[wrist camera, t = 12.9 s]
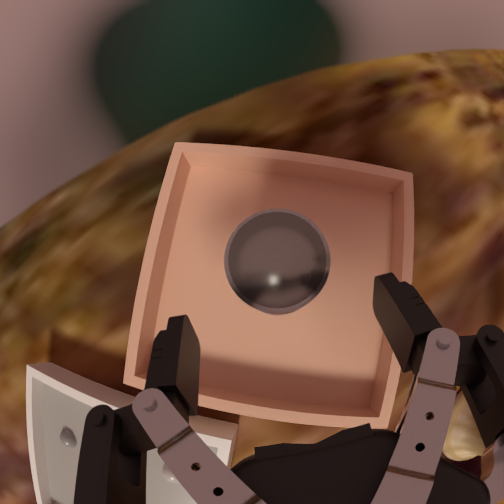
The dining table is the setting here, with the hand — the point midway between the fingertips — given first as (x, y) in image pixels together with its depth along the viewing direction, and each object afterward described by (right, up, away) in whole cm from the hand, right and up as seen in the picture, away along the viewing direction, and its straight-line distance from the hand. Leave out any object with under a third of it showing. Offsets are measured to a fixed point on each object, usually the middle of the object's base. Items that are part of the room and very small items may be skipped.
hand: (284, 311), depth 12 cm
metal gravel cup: (+1, 0, +9) cm, 9 cm away
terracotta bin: (0, 0, +10) cm, 10 cm away
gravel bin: (-13, -18, +7) cm, 23 cm away
